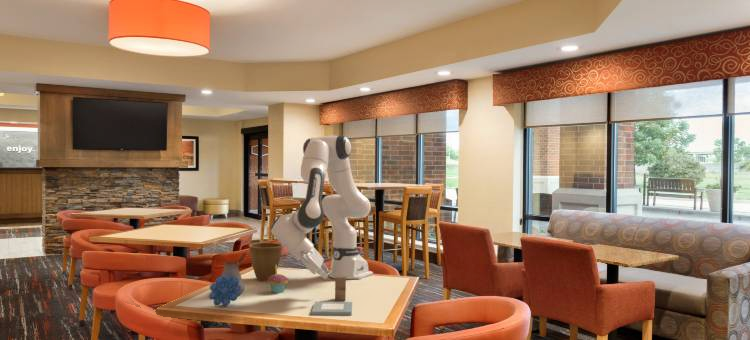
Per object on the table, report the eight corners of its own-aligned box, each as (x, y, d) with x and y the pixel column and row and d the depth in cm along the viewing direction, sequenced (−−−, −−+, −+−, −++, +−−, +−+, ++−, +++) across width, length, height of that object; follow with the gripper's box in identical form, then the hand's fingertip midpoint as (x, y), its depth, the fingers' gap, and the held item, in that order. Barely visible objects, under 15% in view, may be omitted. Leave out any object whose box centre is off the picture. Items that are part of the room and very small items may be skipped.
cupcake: (283, 294, 221) (283, 265, 220) (263, 293, 222) (264, 263, 222) (290, 289, 229) (291, 261, 229) (271, 288, 231) (272, 260, 231)
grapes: (242, 302, 206) (242, 271, 206) (240, 307, 199) (240, 274, 199) (210, 303, 204) (211, 271, 204) (207, 308, 198) (208, 275, 198)
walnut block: (335, 298, 215) (335, 275, 215) (345, 298, 215) (345, 276, 215) (334, 301, 211) (335, 278, 211) (345, 301, 211) (345, 278, 211)
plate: (315, 304, 205) (315, 301, 205) (352, 305, 205) (352, 301, 205) (311, 314, 191) (311, 311, 191) (351, 315, 191) (351, 311, 191)
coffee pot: (238, 298, 212) (238, 260, 212) (210, 297, 214) (211, 259, 214) (258, 287, 233) (259, 252, 233) (233, 285, 235) (234, 251, 235)
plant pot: (242, 279, 249) (243, 244, 249) (270, 275, 259) (271, 241, 259) (259, 284, 238) (259, 248, 238) (287, 280, 248) (288, 245, 248)
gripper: (306, 248, 202) (331, 275, 202) (311, 241, 223) (334, 265, 223) (293, 260, 202) (319, 286, 202) (300, 251, 223) (323, 275, 223)
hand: (327, 275), depth 213 cm, fingers open, 8 cm apart
